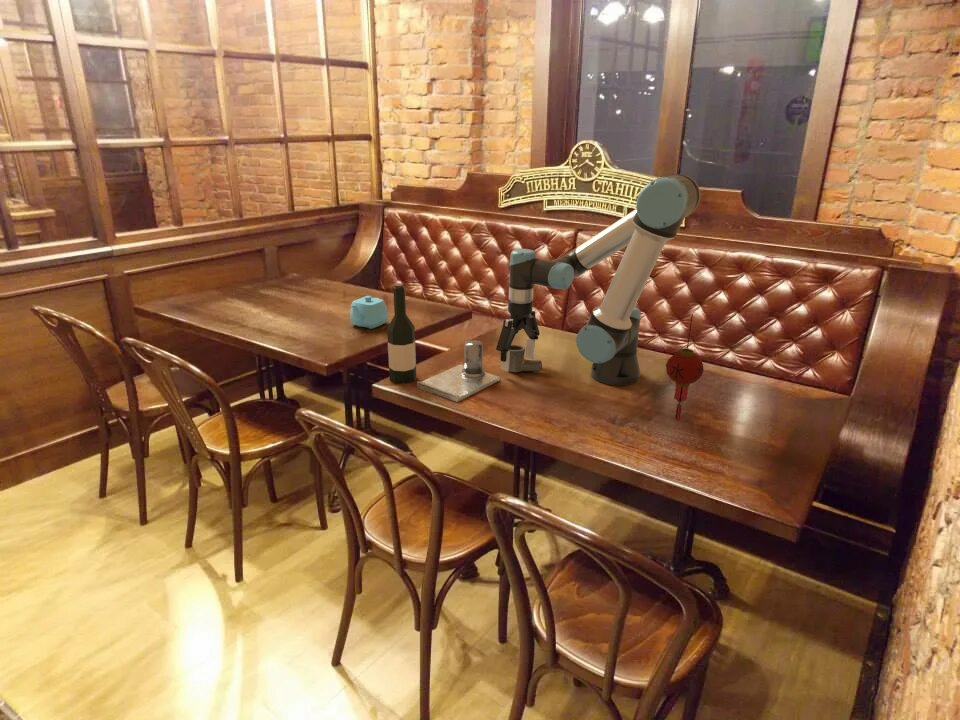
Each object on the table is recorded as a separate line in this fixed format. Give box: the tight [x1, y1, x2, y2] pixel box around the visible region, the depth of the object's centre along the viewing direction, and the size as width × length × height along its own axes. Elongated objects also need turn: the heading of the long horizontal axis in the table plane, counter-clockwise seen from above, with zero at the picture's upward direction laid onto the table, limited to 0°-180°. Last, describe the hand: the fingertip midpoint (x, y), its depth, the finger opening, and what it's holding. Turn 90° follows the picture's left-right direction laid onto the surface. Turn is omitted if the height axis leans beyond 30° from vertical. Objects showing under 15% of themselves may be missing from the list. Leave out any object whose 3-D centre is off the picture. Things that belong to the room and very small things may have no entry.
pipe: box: [508, 344, 543, 373], centre depth 197 cm, size 6×13×8 cm, turn 78°
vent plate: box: [416, 339, 501, 403], centre depth 187 cm, size 16×21×11 cm
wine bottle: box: [386, 283, 417, 385], centre depth 186 cm, size 8×8×30 cm
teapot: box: [349, 295, 389, 330], centre depth 237 cm, size 12×18×12 cm
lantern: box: [665, 313, 705, 421], centre depth 162 cm, size 10×10×30 cm
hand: (517, 363), depth 198 cm, fingers open, 13 cm apart
